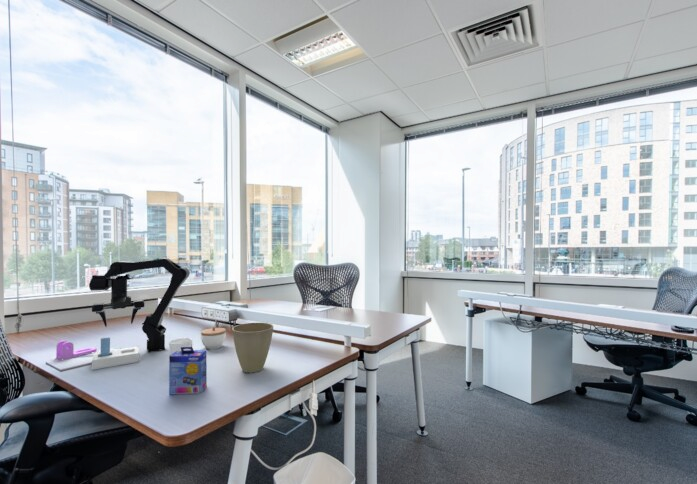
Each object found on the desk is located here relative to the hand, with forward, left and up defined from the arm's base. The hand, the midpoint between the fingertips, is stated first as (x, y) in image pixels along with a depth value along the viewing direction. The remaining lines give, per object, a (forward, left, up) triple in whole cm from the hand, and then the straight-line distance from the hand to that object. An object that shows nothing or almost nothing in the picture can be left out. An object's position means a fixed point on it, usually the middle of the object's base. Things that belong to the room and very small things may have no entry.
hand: (119, 325), depth 142 cm
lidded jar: (-36, +17, -12) cm, 42 cm away
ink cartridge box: (-19, +61, -12) cm, 65 cm away
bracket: (+14, -7, -12) cm, 20 cm away
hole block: (+1, +14, -12) cm, 18 cm away
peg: (+4, +14, -12) cm, 19 cm away
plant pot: (-42, +55, -12) cm, 70 cm away
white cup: (-20, +36, -12) cm, 43 cm away
